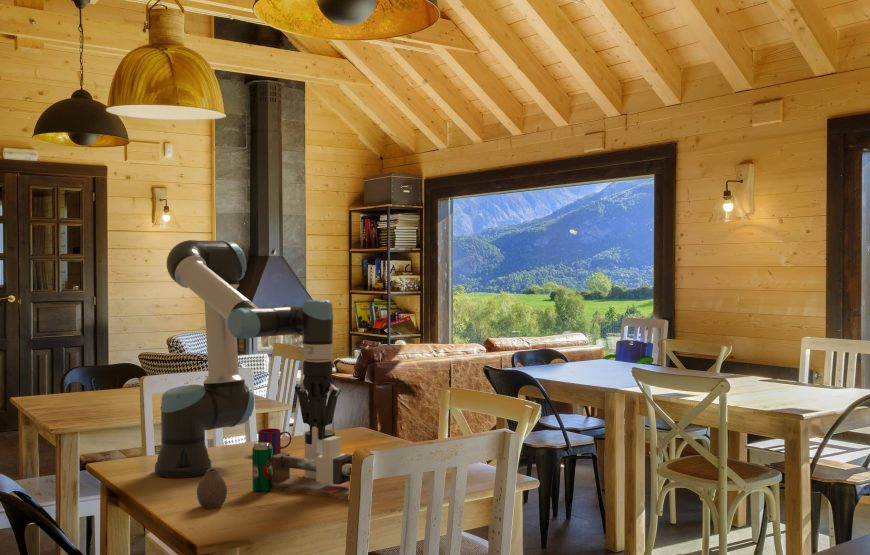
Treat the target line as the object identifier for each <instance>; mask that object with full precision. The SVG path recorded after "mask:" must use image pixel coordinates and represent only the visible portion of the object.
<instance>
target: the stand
mask: <svg viewBox="0 0 870 555" xmlns="http://www.w3.org/2000/svg"><path fill="white" fill-rule="evenodd" d="M283 456H291V454H290V453H287V452H286V453H285V452H282V453H278V454H275V455H273V489H272V490H279V491H286V492H292V493H297V494H298V493H300V494H304V495H305V494H306V495H312V496H319V497H325V498H332V499H338V500H339V499H340V500H346V501H349V500H348V495H349V483H350V482H345V483H343V484H340V485H338V484H331V483H324V482H317V481H316V479H312V478H305V476H297V475H296V476H295V475H291V472H290V470H291V468H285V467H282V466H281V464H280V461H281V458H282V457H283ZM350 475H351V467H350Z"/></svg>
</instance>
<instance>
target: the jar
mask: <svg viewBox="0 0 870 555" xmlns="http://www.w3.org/2000/svg"><path fill="white" fill-rule="evenodd" d="M332 436H336V433H335V431H334V430H331V429H325V439H326V438H329V437H332ZM321 455H322V451H321V452H318V453H312V439H310V430H308V431H305V432H304V458H308V459H315V460H316V457H318V456H321ZM304 477H305V478H312V479H316V472H315V471H307V470H304Z"/></svg>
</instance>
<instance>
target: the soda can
mask: <svg viewBox="0 0 870 555" xmlns="http://www.w3.org/2000/svg"><path fill="white" fill-rule="evenodd" d="M251 452H252V456H251V457H252V460H251V461H252V463H251V464H252V466H251V468H252V473H251V474H252V480H251V481H252V484H251V485H252V491H253V492H254V493H257V494H265V493H266V494H267V493H269V492H271V491H272V490H274V489H273V456H274V454H273V447H272V446H271V443H268V442H260V443H258V442H255V443H253V447H252V451H251Z"/></svg>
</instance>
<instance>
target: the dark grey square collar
mask: <svg viewBox="0 0 870 555" xmlns="http://www.w3.org/2000/svg"><path fill="white" fill-rule="evenodd" d="M345 454H346V455H343V456H340V457H337V458H335V459H333V484H338V485H340V484H343V483H349V482H350V476H342V463H343V462H344V463H347V464H352V456H353V457H354V455H353V454H349V453H345Z"/></svg>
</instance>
